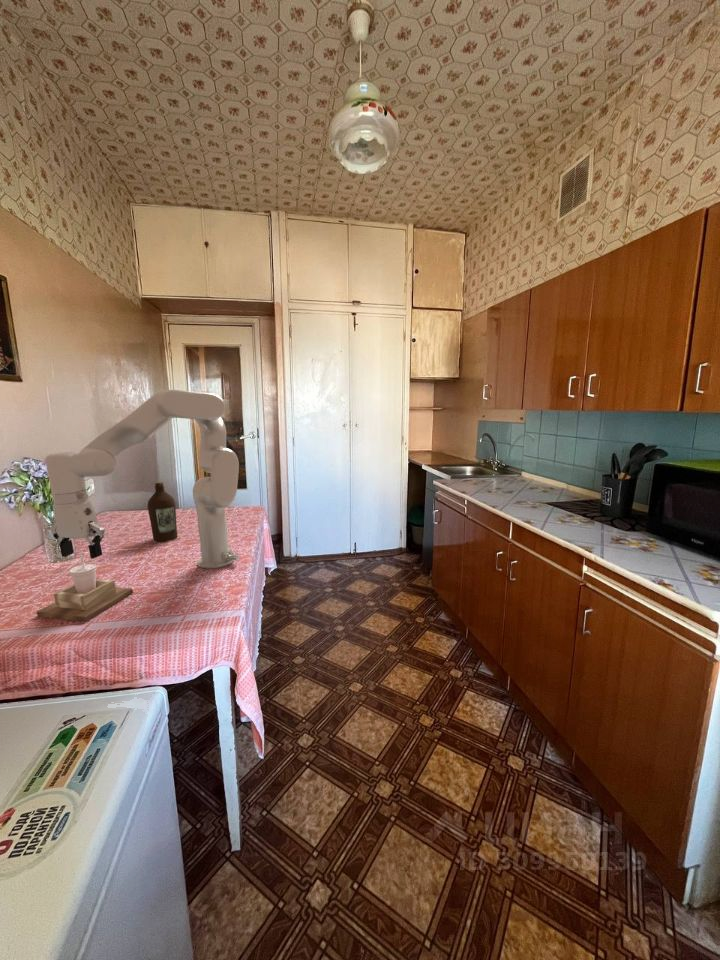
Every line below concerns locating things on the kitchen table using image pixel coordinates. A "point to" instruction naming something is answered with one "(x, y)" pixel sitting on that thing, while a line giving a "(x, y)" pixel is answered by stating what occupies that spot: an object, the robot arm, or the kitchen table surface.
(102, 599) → the wooden open box
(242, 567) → the kitchen table surface
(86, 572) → the smoothie
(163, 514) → the olive oil
